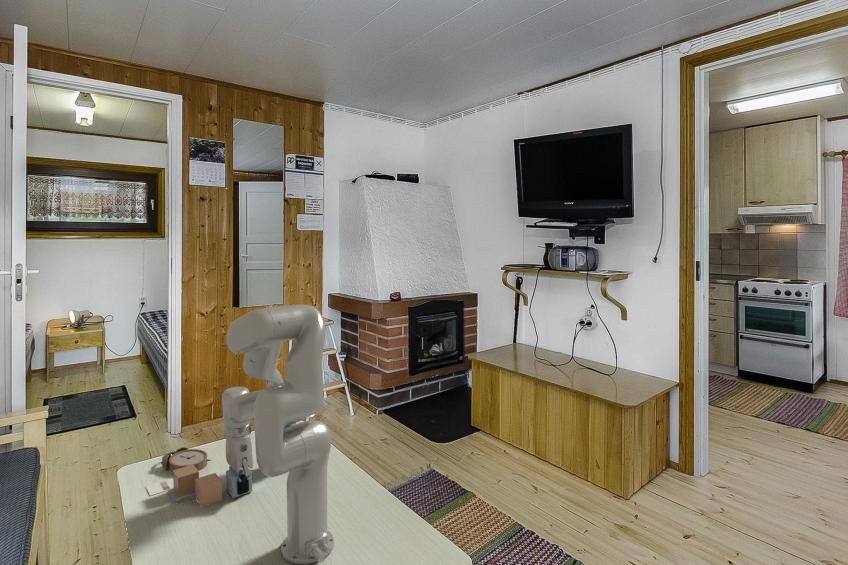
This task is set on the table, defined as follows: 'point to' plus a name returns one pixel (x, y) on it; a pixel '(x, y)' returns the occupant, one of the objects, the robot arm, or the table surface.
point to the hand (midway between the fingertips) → (239, 488)
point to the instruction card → (160, 487)
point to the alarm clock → (185, 459)
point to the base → (184, 484)
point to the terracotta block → (208, 489)
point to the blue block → (235, 482)
